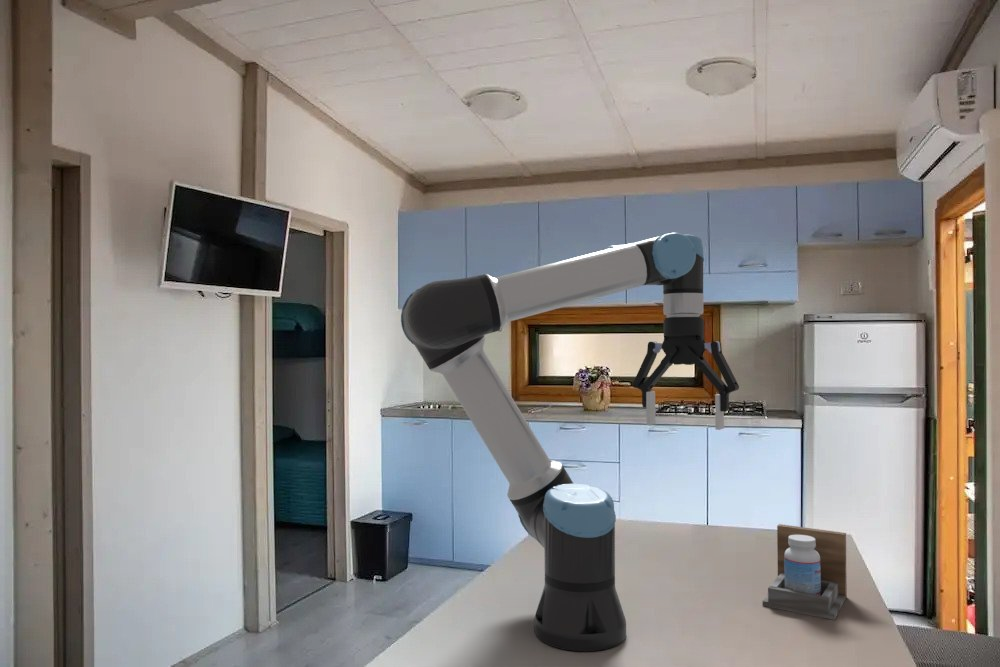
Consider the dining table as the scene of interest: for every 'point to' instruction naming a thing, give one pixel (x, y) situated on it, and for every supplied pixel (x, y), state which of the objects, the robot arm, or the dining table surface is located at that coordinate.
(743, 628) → the dining table surface
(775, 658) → the dining table surface
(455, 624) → the dining table surface
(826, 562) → the cup bracket
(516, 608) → the dining table surface
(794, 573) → the pill bottle
